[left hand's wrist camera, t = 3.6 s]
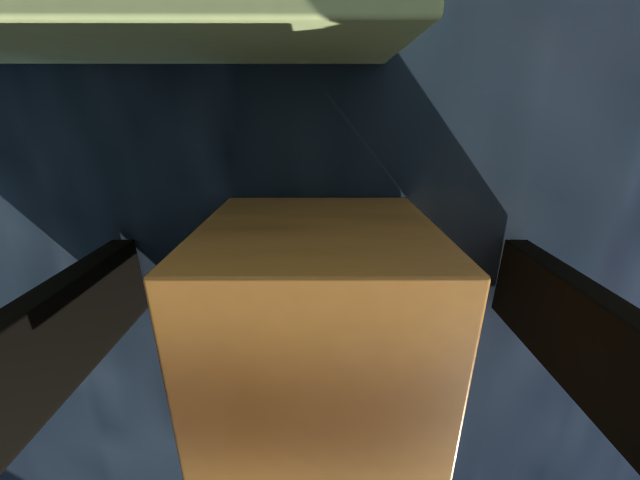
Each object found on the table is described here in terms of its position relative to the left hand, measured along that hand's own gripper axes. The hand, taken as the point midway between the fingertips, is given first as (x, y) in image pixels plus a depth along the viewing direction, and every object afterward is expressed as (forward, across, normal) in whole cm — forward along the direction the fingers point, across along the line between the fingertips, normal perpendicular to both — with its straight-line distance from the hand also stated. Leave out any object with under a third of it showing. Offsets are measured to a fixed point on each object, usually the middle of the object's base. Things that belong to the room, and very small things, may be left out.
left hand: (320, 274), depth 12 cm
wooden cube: (0, 0, 0) cm, 0 cm away
